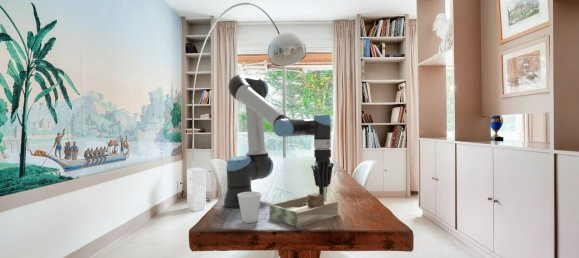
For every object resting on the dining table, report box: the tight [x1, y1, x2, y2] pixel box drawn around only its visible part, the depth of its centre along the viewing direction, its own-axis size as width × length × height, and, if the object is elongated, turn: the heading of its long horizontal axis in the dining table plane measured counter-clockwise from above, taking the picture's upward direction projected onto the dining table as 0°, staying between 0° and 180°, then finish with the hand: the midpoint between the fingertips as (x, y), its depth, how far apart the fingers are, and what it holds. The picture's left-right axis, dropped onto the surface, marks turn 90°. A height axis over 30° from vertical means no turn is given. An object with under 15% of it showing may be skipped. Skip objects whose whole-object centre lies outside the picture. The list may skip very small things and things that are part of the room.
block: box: [307, 192, 325, 208], centre depth 140 cm, size 5×5×5 cm
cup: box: [237, 191, 262, 224], centre depth 129 cm, size 10×10×11 cm
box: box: [268, 195, 339, 228], centre depth 135 cm, size 18×23×6 cm
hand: (323, 201), depth 143 cm, fingers closed
